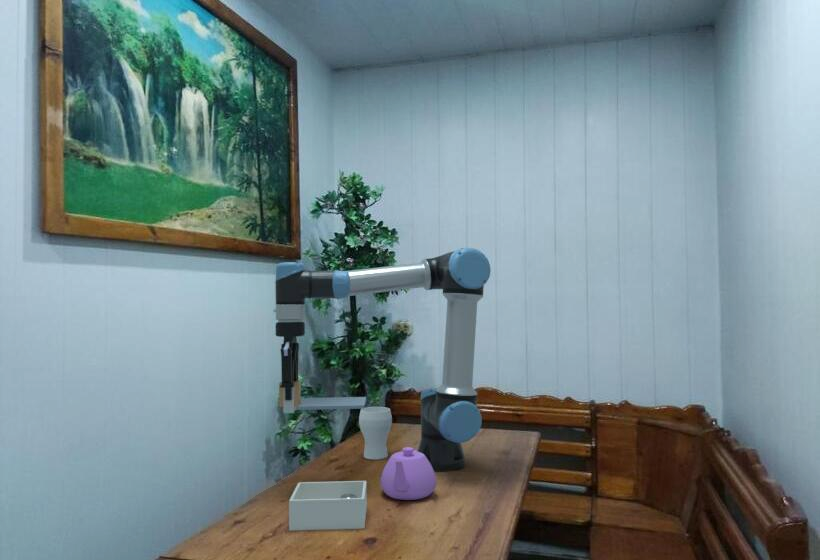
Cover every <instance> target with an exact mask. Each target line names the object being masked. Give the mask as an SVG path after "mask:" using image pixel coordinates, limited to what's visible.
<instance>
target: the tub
mask: <svg viewBox="0 0 820 560" xmlns="http://www.w3.org/2000/svg"><path fill="white" fill-rule="evenodd" d="M367 483H368V482H367V480H348V481H347V480H345V481H341V480H340V481H339V480H338V481H306V482H305V481H303V482H301V481H300V482H298V483H297V484H296V487H295V488H294V490H293V492H292V495H291V496H290V498H289V502H288V529H289V531H290V532H292V531H293V532H294V531H321V530H323V531H325V530H328V531H329V530H359V529H363V530H364V529H365V525H366V518H367V517H366V515H367V507H368V505H367V502H368V501H367V493H368V490H367V488H368V487H367ZM344 494H354V495H356V498H340V497H341V496H342V495H344Z"/></svg>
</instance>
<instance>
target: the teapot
mask: <svg viewBox="0 0 820 560" xmlns="http://www.w3.org/2000/svg"><path fill="white" fill-rule="evenodd" d="M380 487H381V490H382V491H383V492H384V493H385V494H386V496H388V497H390V498H391V499H395V500H400V501H401V500H402V501H414V500H422V499H425V498H426V497H429V496H430V495H431V494H432V493H433V492H434V490H435V489H436V487H437V477H436V473H435V471H434V470H433V468H432V466H431V464H430V462H429V461H428V459H427V458H426V456H425V455H424V454H423V453H421V452H418V449H415V448H413V447H410V446H408V447H407V446H405V447H403V448H402V450H401V451H397V452H395V453H393V454H392V455H391V456H390V457H389V459H388V461H387V462H386V464H385V466H384V468H383V471H382V474H381V478H380Z"/></svg>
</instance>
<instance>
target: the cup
mask: <svg viewBox="0 0 820 560" xmlns="http://www.w3.org/2000/svg"><path fill="white" fill-rule="evenodd" d="M392 424H393V417H392V412H391V408H389V407H384V406H369V407H364V409H360V412H359V417H358V425H359V428H360V432H361V434H362V435H363V438H364V450H363V451H364V452H363V458H365V459H367V460H383V459H386V458H388V457H389V453H388V448H387V440H388V435H389V433H390V431H391V428H392Z"/></svg>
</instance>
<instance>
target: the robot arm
mask: <svg viewBox="0 0 820 560" xmlns="http://www.w3.org/2000/svg"><path fill="white" fill-rule="evenodd" d="M491 271H492V270H491V264H490V262H489V259H488V257H487V256H486V255H485V254H484V253H483V252H482V251H481V250H479V249H476V248H474V247H465V248H464V247H461V248H459V249H456V250H454V251H450V252H447V253H445V254H442V255H441V254H440V255H439V256H434V257H432V258H423V259H422V260H421V261H420V262H415V263H406V264H397V265H388V266H379V267H372V268H371V267H370V268H361V269H352V270H339V269H335V270H309V269H306V265H305V264H304V263H303V262H293V261H290V262H289V261H287V262H285V261H284V262H280V263H278V264H277V265H276V267H275V283H274V284H275V308H274V309H273V311H272V312H273V313H275V320H276V321H277V322H276V323H275V336H276V337H280V338H281V337H283V343H281V345H280V347H281V348H280V356H281V357H280V360H281V364H280V365H281V382H282V385H280V388H283V409H282V411H283V414H294V413H295V411H298V406H294V387H293V386H294V384H293V383H294V381H299V350H300V343H299V342H298V341H297V340H298V339H297V337H303V336H305V333H306V331H305V330H306V329H305V328H306V326H305V325H306V324H305V322H304V320H305V319H306V304H305V302H306V301H305V300H306V299H317V300H321V301H322V300H330V299H336V300H339V299H346V298H349V297H351V296H352V297H353V296H361V295H369V294H377V293H386V292H394V291H395V292H397V291H402V290H403V291H404V290H411V289H421V288H423V289H424V290H426V291H430V290H442V295H443V297H444V298H445V299H446V301H447V302H446V315H445V316H446V317H445V319H446V320H445V333H444V334H445V335H444V348H443V363H442V380H441V385H440V386H439V387H436V388H435V387H432V388H425V389H424V388H423V389H422V390H421V393H420V398H419V401H420V432H421V433H420V438H421V439H420V442H419V445H418V448H417V451H418V452H421V453H423V454H424V455H425V456H426V458H427V459H428V461H429V462H430V464H431V466H432V468H433V470H434V472H448V471H456V470H459V469H462V468H463V467H465V465H466V455H465V451H464V449H463V446H462V443H467V442H469V441H470V440H472V439H473V438H474V437H476V436H477V434H479V431H480V429H481V427H482V424H483V423H482V422H483V421H482V420H483V419H482V418H483V417H482V414H481V412H480V409H479V408H478V392H477V391H476V389H474V387H473V381H474V362H475V350H476V349H475V347H476V346H475V345H476V329H477V327H476V326H477V314H478V303H479V301H480V300H481V299H482V298H484V287H485V285H486V284H487V282H488V281H489V279H490V276H491Z"/></svg>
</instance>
